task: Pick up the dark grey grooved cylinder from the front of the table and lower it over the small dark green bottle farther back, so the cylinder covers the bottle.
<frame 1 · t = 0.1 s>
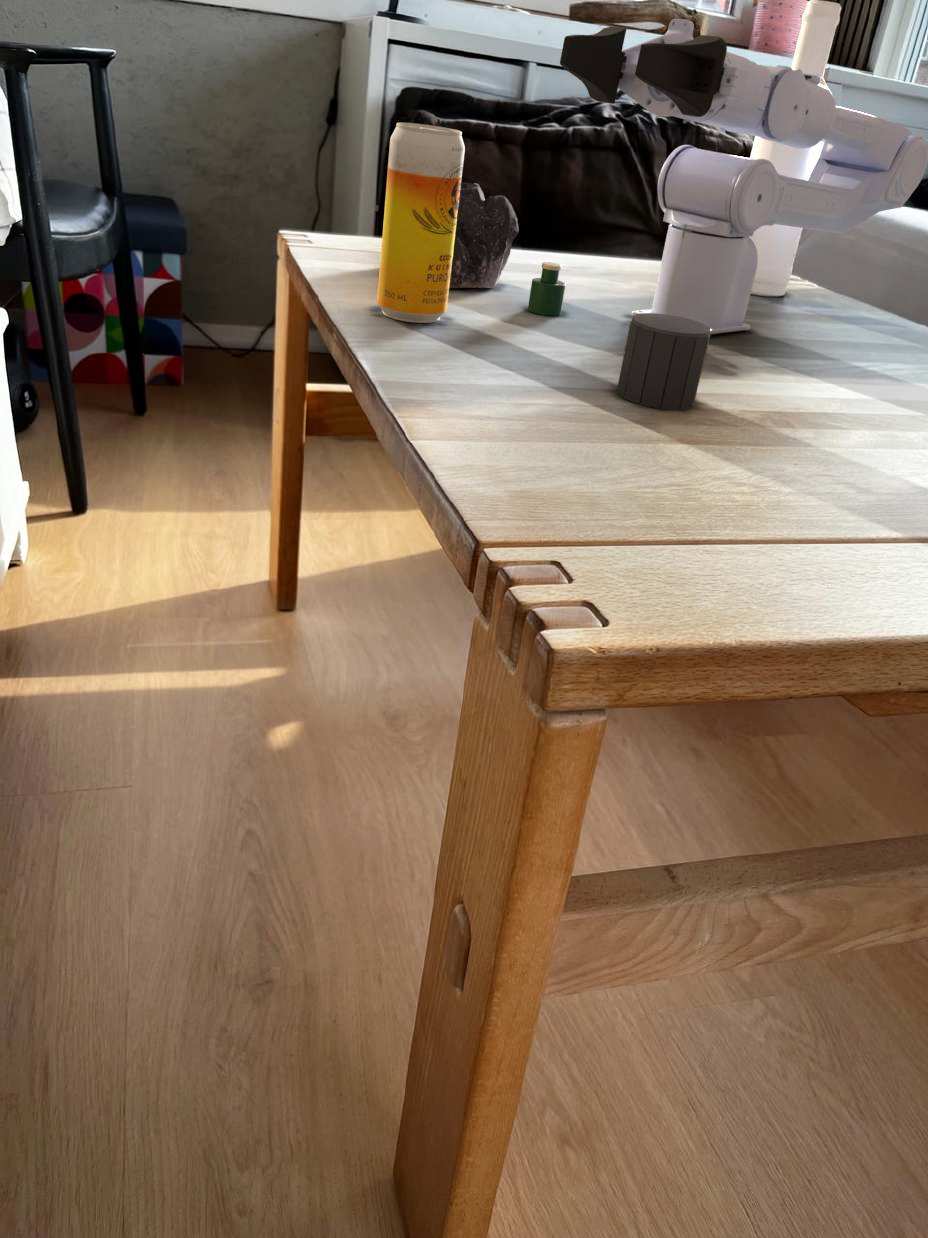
hand: (602, 55, 78), 22 cm above the table, tool horizontal, fingers open, 7 cm apart
beer can: (410, 317, 90), on the table
bottle: (544, 311, 98), on the table
bottle 2: (751, 290, 124), on the table
crystal cluster: (442, 279, 106), on the table
dark grey grooved cylinder: (655, 397, 76), on the table
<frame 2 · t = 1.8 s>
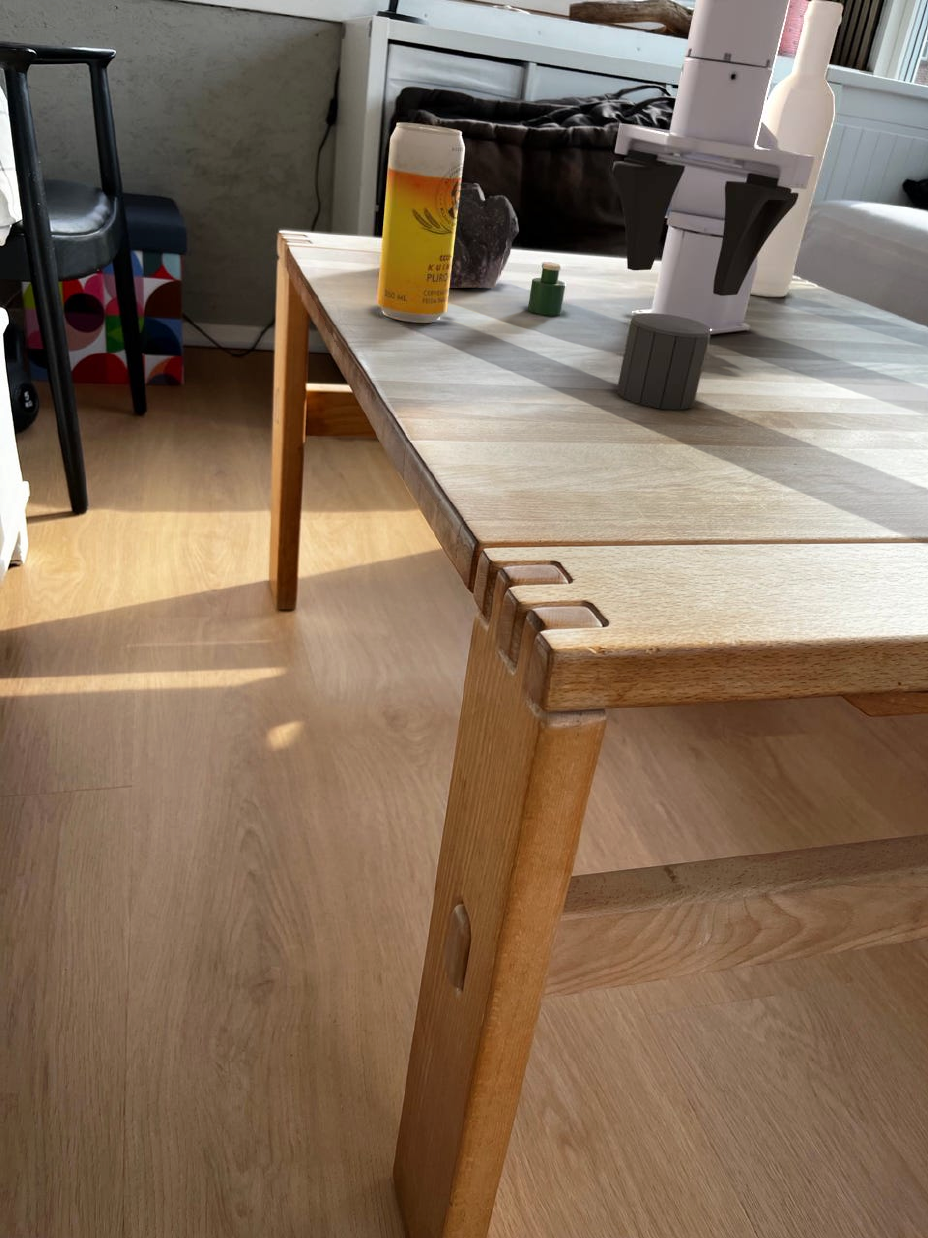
hand: (680, 281, 72), 8 cm above the table, tool pointing down, fingers open, 7 cm apart
nothing on the table moved.
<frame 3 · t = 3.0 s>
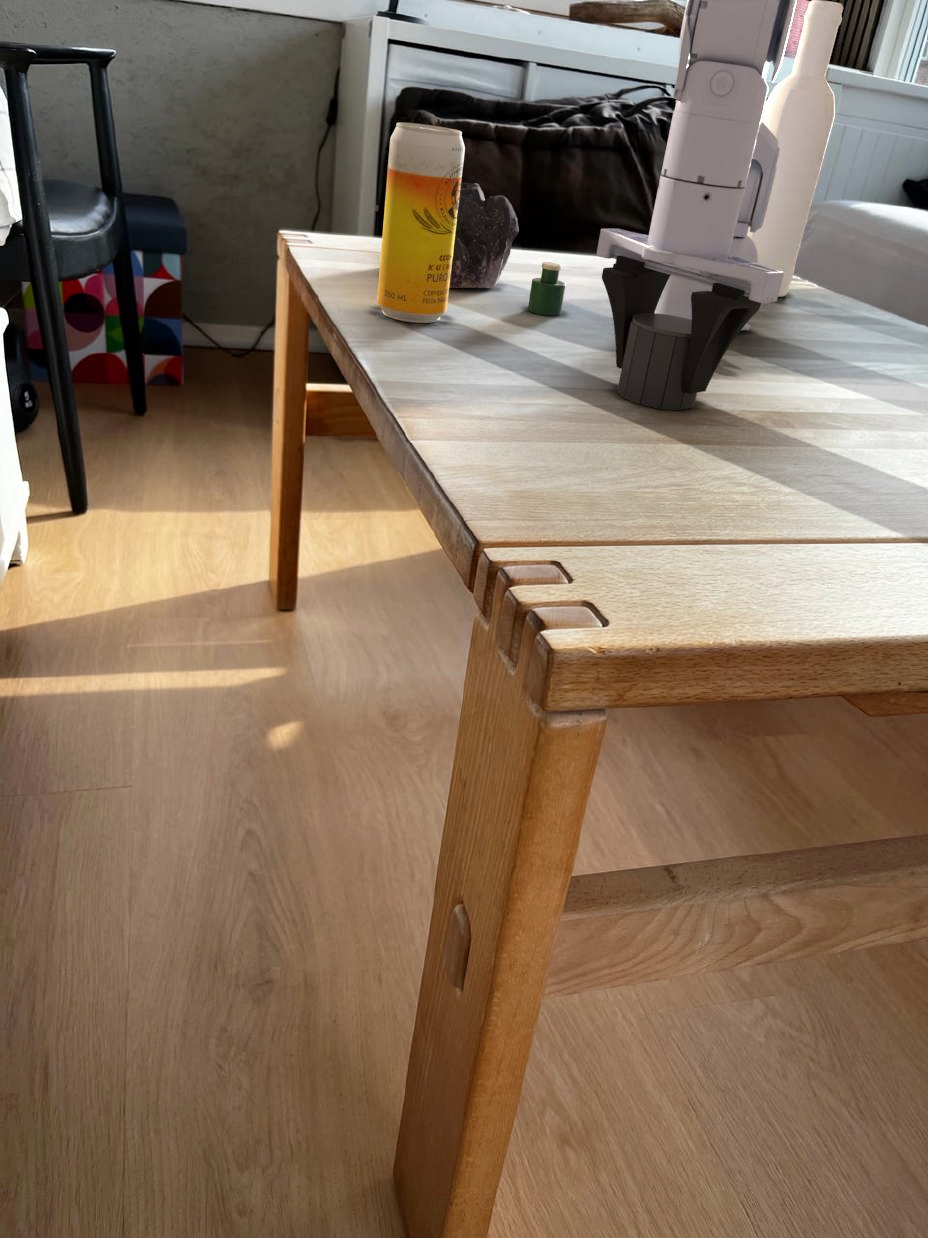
hand: (659, 378, 76), 1 cm above the table, tool pointing down, fingers closed on dark grey grooved cylinder, 5 cm apart
dark grey grooved cylinder: (655, 397, 76), on the table, touching gripper
everything else where it was.
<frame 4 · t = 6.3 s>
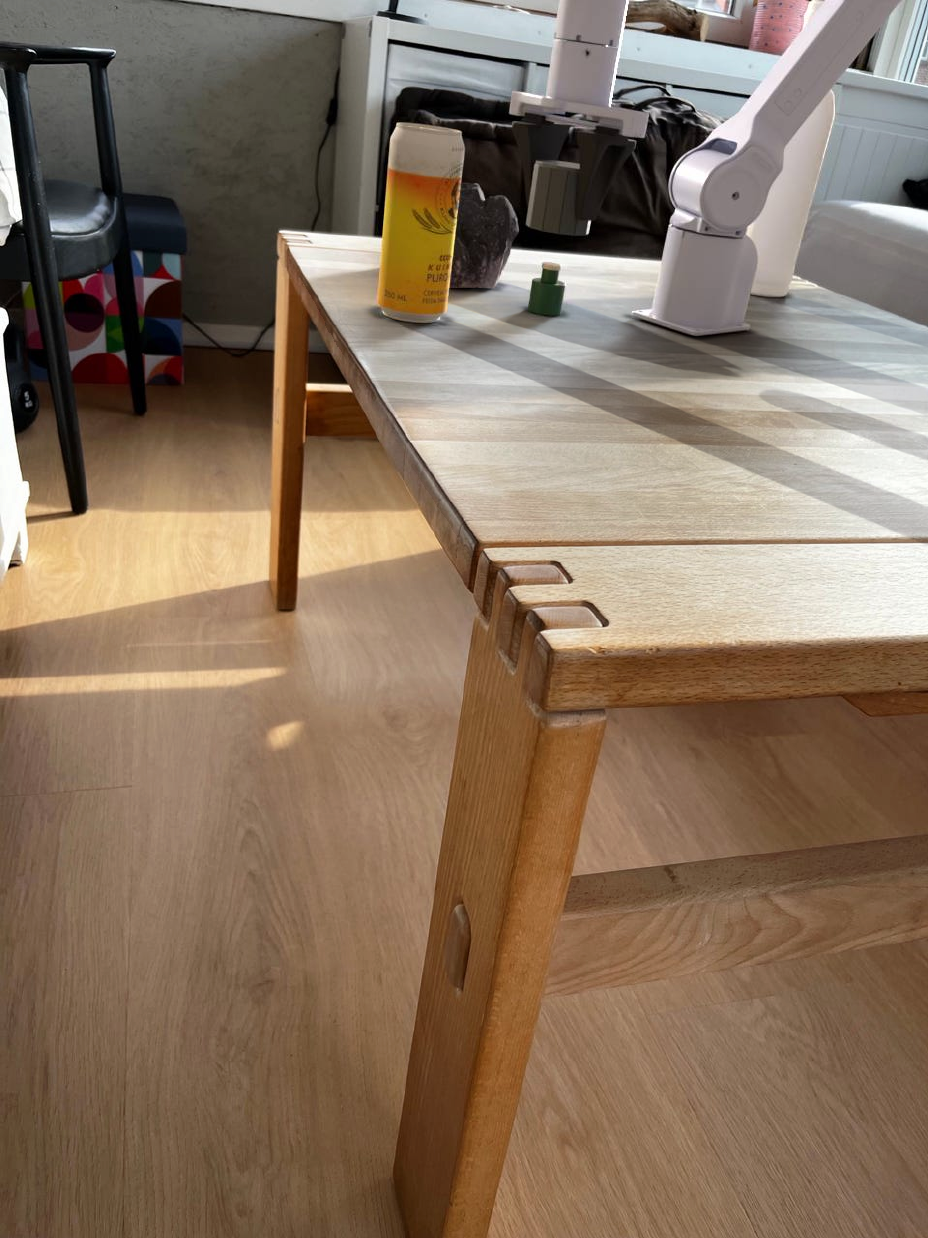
hand: (560, 213, 94), 9 cm above the table, tool pointing down, fingers closed on dark grey grooved cylinder, 5 cm apart
dark grey grooved cylinder: (557, 229, 94), point 8 cm above the table, touching gripper
everything else where it was.
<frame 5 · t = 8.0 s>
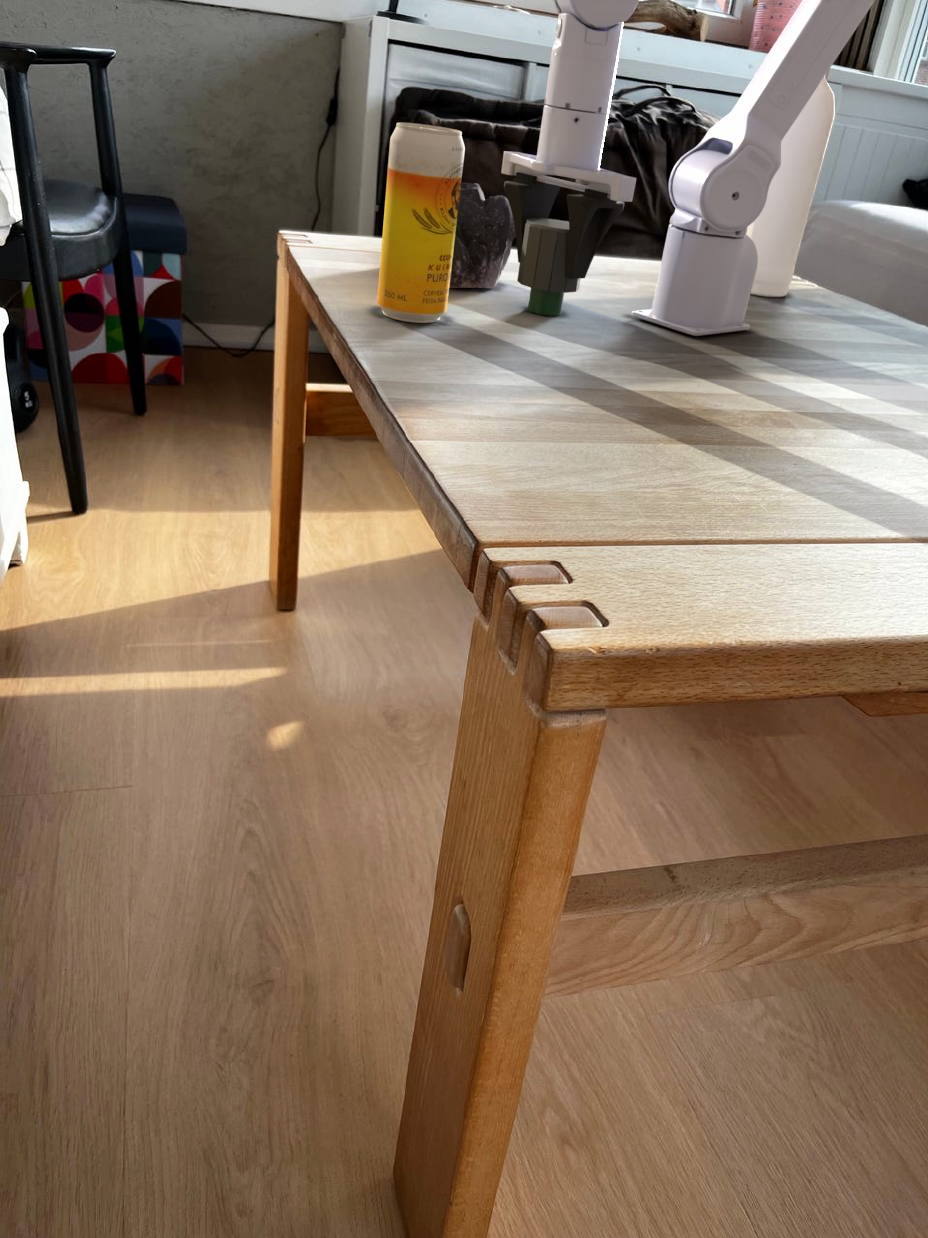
hand: (550, 269, 96), 4 cm above the table, tool pointing down, fingers closed on dark grey grooved cylinder, 5 cm apart
dark grey grooved cylinder: (547, 285, 97), point 2 cm above the table, touching gripper
everything else where it was.
when the fingers open (1 cm above the table, at t = 9.4 s): dark grey grooved cylinder stays where it is, on the table.
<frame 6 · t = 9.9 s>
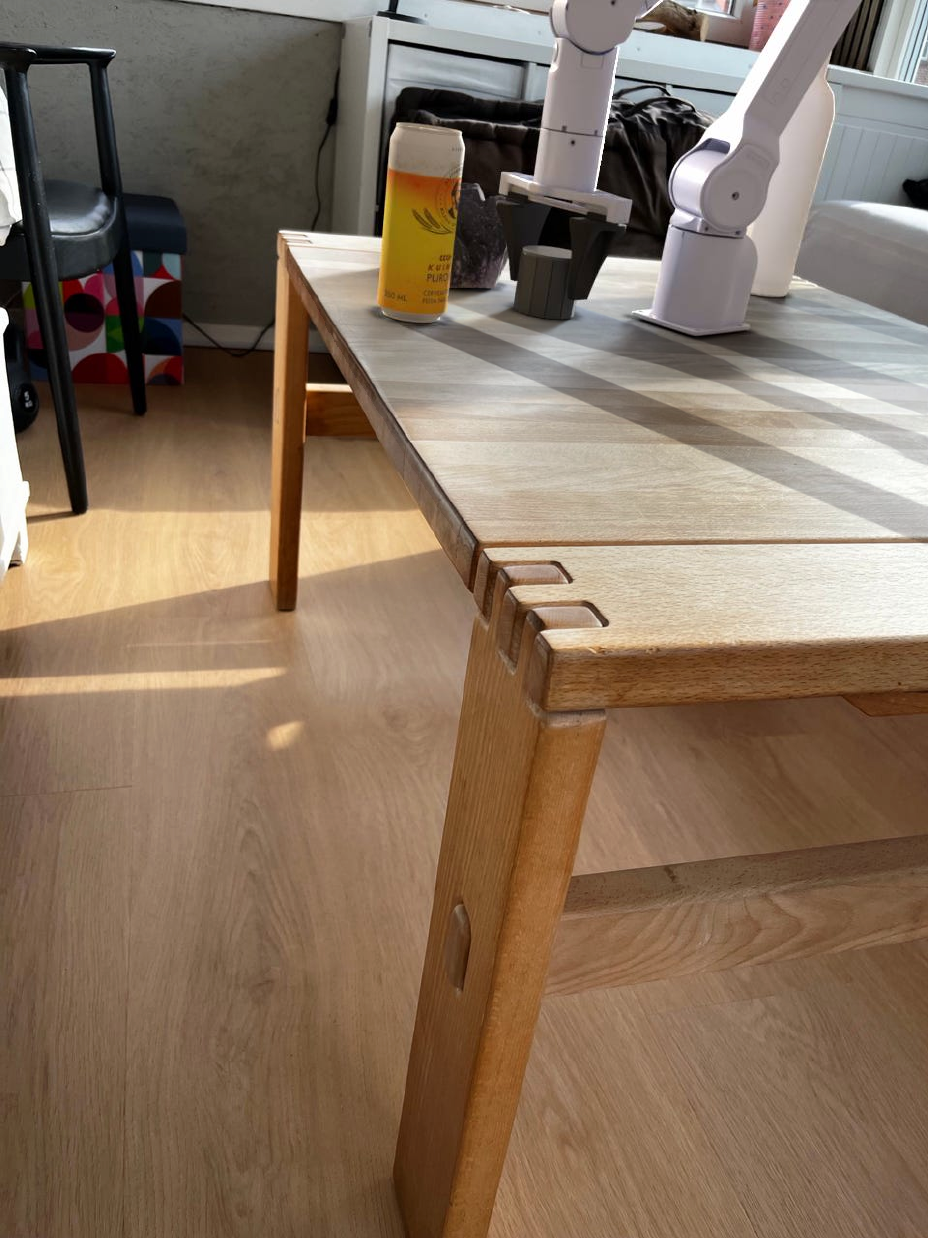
hand: (547, 289, 97), 2 cm above the table, tool pointing down, fingers open, 7 cm apart
dark grey grooved cylinder: (543, 311, 98), on the table
everything else where it was.
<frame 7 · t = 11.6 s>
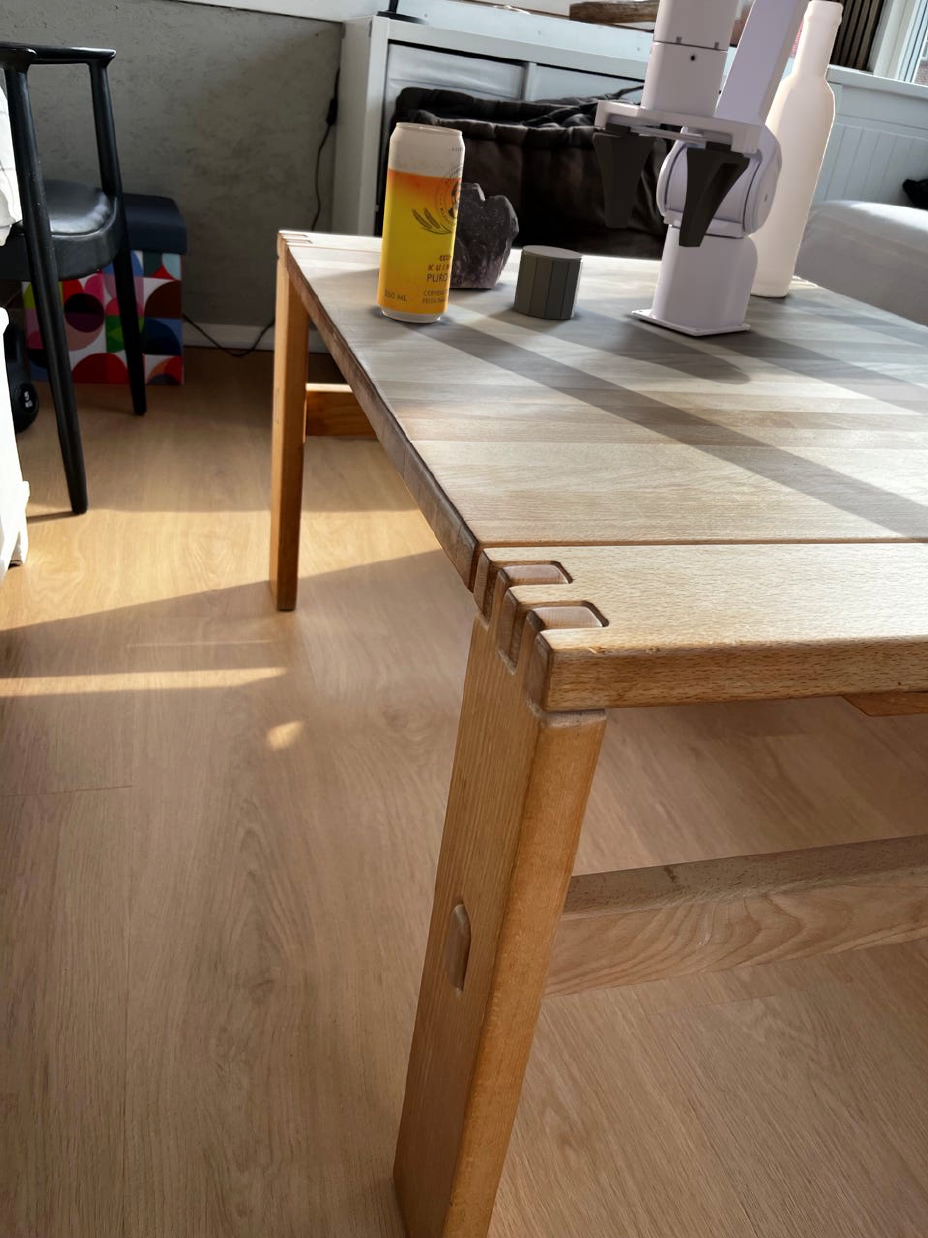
hand: (651, 236, 84), 9 cm above the table, tool pointing down, fingers open, 7 cm apart
nothing on the table moved.
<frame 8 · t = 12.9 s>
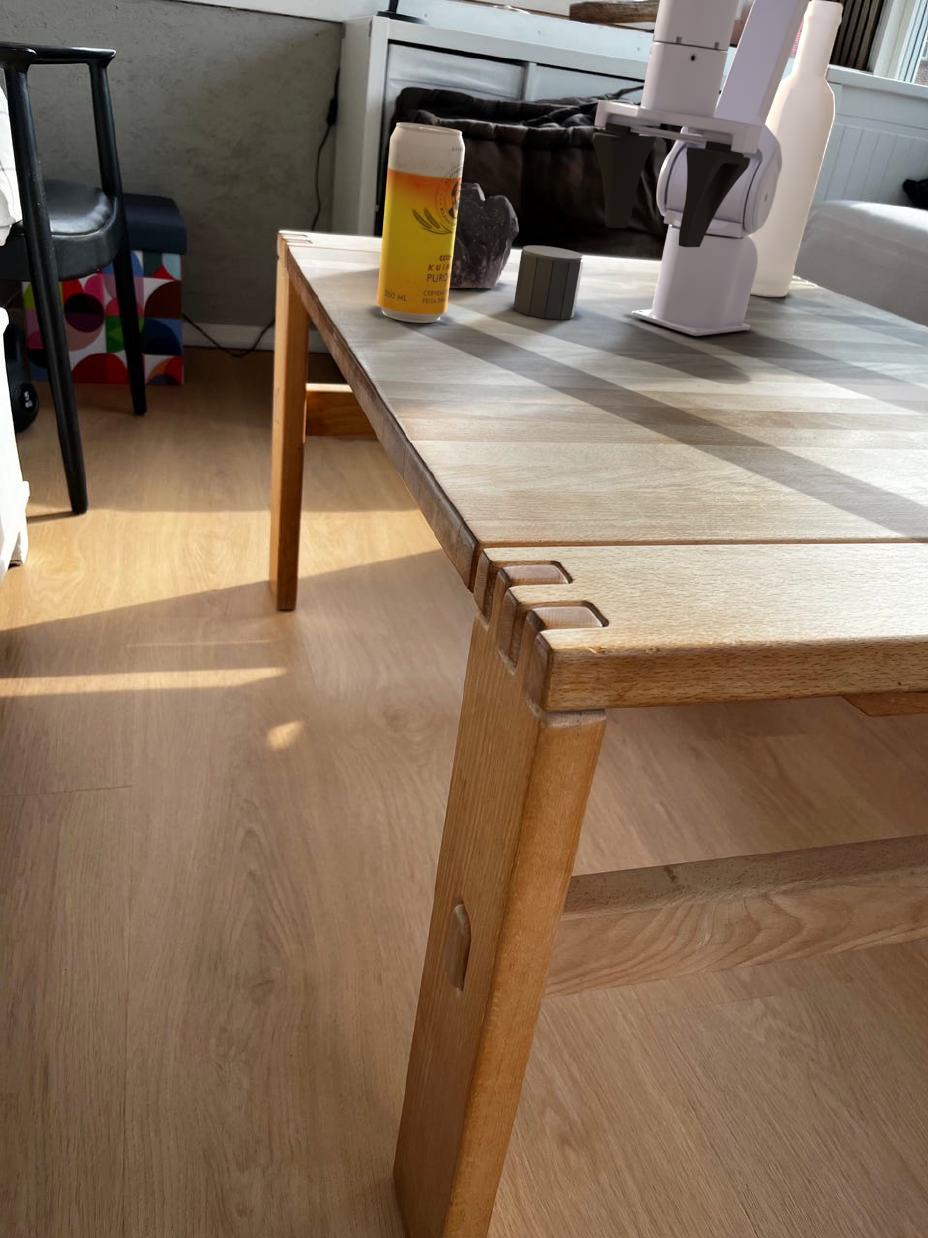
hand: (651, 236, 84), 9 cm above the table, tool pointing down, fingers open, 7 cm apart
nothing on the table moved.
at the end: dark grey grooved cylinder 0.1 cm from the bottle (horizontally); dark grey grooved cylinder on the table; dark grey grooved cylinder tilted 0° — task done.
